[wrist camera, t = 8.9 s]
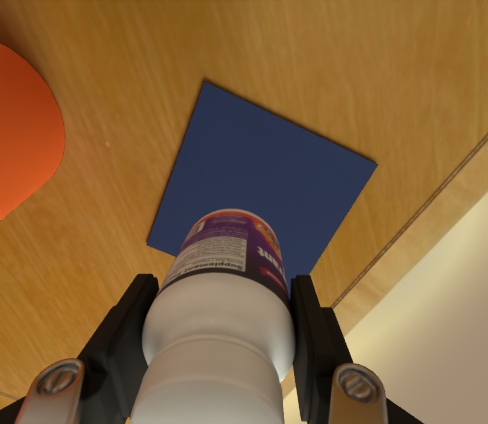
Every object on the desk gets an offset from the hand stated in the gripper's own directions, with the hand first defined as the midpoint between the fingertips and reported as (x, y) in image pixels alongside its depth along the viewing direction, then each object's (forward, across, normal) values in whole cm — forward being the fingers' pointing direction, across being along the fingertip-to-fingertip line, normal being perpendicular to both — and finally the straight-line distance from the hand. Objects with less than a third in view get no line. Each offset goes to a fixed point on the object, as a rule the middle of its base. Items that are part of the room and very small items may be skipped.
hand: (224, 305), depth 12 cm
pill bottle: (+5, 0, 0) cm, 5 cm away
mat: (+21, -1, +3) cm, 21 cm away
